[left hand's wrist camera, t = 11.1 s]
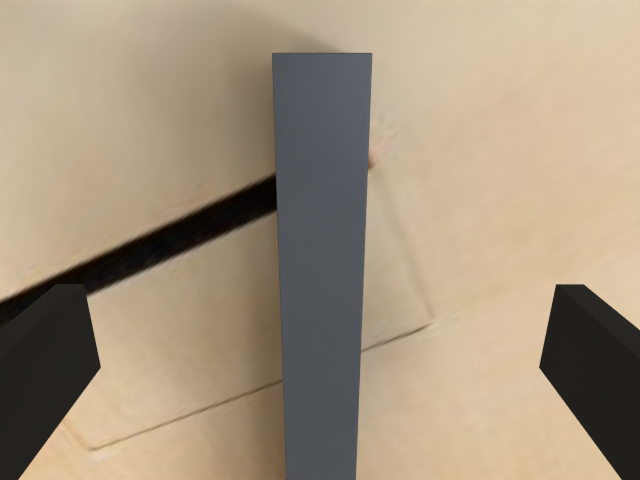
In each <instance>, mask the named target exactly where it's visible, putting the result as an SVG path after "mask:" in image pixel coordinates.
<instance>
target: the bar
mask: <svg viewBox="0 0 640 480" xmlns="http://www.w3.org/2000/svg"><path fill="white" fill-rule="evenodd" d="M272 67H273V97H274V126H275V156H276V186H277V215H278V245H279V275H280V305H281V334H282V364H283V394H284V423H285V453H286V480H356V459H357V433H358V408H359V382H360V356H361V330H362V305H363V279H364V253H365V227H366V202H367V176H368V150H369V125H370V99H371V73H372V53H272Z"/></svg>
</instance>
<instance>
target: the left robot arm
mask: <svg viewBox="0 0 640 480" xmlns="http://www.w3.org/2000/svg"><path fill="white" fill-rule="evenodd" d="M100 368H101V366H100V361H99V356H98V351H97V346H96V341H95V336H94V332H93V327H92V322H91V317H90V312H89V307H88V302H87V297H86V292H85V288H84V284H56V285H55V286H54V287H53V288H51V289H50V290H49V291H48V292H46V293H45V294H44V295H43V296H42V297H40V298H39V299H38V300H37V301H35V302H34V303H33V304H32V305H31V306H29V307H28V308H27V309H26V310H24V311H23V312H22V313H21V314H19V315H18V316H17V317H16V318H15V319H13V320H12V321H11V322H10V323H8V324H7V325H6V326H5V327H4V328H2V329H1V330H0V480H18V479H19V478H20V477H21V475H22V474H23V473H24V471H25V470H26V468H27V467H28V466H29V464H30V463H31V462H32V460H33V459H34V458H35V456H36V455H37V454H38V452H39V451H40V449H41V448H42V447H43V445H44V444H45V443H46V441H47V440H48V439H49V437H50V436H51V434H52V433H53V432H54V430H55V429H56V428H57V426H58V425H59V424H60V422H61V421H62V420H63V418H64V417H65V415H66V414H67V413H68V411H69V410H70V409H71V407H72V406H73V405H74V403H75V402H76V401H77V399H78V398H79V396H80V395H81V394H82V392H83V391H84V390H85V388H86V387H87V386H88V384H89V383H90V382H91V380H92V379H93V377H94V376H95V375H96V373H97V372H98V371H99V369H100ZM539 368H540V369H541V371H542V372H543V373H544V375H545V376H546V377H547V379H548V380H549V382H550V383H551V384H552V386H553V387H554V388H555V390H556V391H557V392H558V394H559V395H560V396H561V398H562V399H563V401H564V402H565V403H566V405H567V406H568V407H569V409H570V410H571V411H572V413H573V414H574V415H575V417H576V418H577V420H578V421H579V422H580V424H581V425H582V426H583V428H584V429H585V430H586V432H587V433H588V434H589V436H590V437H591V439H592V440H593V441H594V443H595V444H596V445H597V447H598V448H599V449H600V451H601V452H602V454H603V455H604V456H605V458H606V459H607V460H608V462H609V463H610V464H611V466H612V467H613V468H614V470H615V471H616V473H617V474H618V475H619V477H620V478H621V479H622V480H640V330H639V329H638V328H636V327H635V326H634V325H633V324H632V323H630V322H629V321H628V320H627V319H625V318H624V317H623V316H622V315H621V314H619V313H618V312H617V311H616V310H614V309H613V308H612V307H611V306H609V305H608V304H607V303H606V302H605V301H603V300H602V299H601V298H600V297H598V296H597V295H596V294H595V293H594V292H592V291H591V290H590V289H589V288H587V287H586V286H585V285H584V284H556V288H555V292H554V297H553V302H552V307H551V312H550V317H549V322H548V327H547V332H546V336H545V341H544V346H543V351H542V356H541V361H540V366H539Z"/></svg>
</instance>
